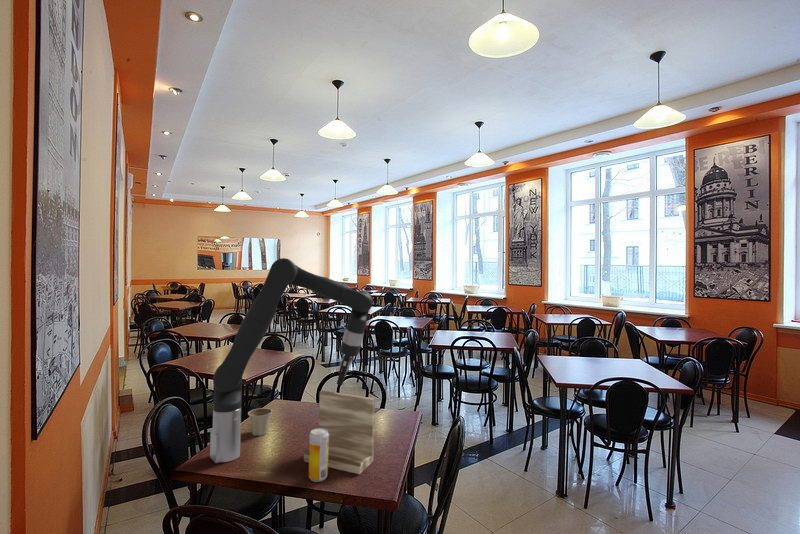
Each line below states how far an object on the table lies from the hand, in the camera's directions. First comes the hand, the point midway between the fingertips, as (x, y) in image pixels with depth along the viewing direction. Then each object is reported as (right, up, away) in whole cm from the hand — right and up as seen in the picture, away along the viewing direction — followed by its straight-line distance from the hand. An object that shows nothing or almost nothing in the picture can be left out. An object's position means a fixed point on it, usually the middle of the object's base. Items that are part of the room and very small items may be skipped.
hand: (341, 380), depth 160 cm
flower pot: (-34, -24, +7) cm, 43 cm away
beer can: (-3, -24, -28) cm, 37 cm away
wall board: (+1, -24, -16) cm, 29 cm away
